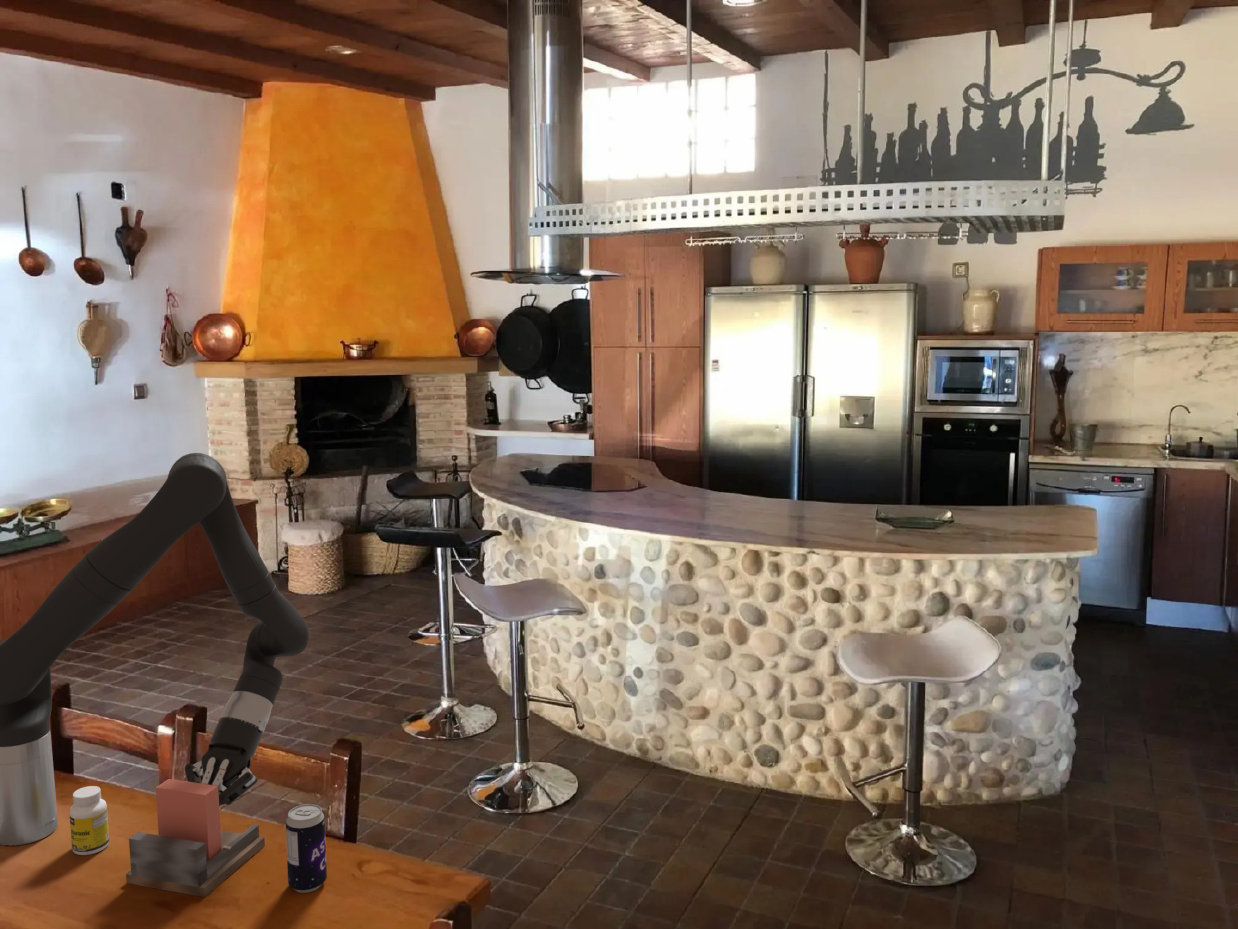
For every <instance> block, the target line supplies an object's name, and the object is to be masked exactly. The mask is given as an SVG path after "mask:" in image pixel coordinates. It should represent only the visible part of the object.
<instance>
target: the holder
mask: <svg viewBox="0 0 1238 929" xmlns="http://www.w3.org/2000/svg"><path fill="white" fill-rule="evenodd" d="M259 828H260V825H259V824H252V825H251V826H250V827H248V828H247V829H246V830H244V831H243V832H242V833H239V832H234V831H227V830H222V829H220V830H221V848H222V850H221V851H220V852H218V853H217V854H216V855H215V856H214V857H212V858H211V859H210V860H209V861H207V862H206V845H205V843H202V842H196V841H190V840H184V839H178V838H172V837H166V836H160V835H159V834H153V833H146V832H140V831H137V832H136V833H134V834H133V835H132V836H130V837H129V838H128V844H129V848H128V849H129V861H130V870H129V871H128V872H127V873H125V878H126V880H125V882H126V884H129V885H136V886H141V887H147V888H150V889H151V888H153V889H156V890H157V889H158V890H162V891H168V892H169V891H170V892H174V893H180V894H184V895H191V896H196V897H201V898H206V897H207V896H208V895H210V894H211V893H212V892H213V891H214V890H216V889H217V888H218V887H219V886H220V885H222V883H223V882H224V881H226V880H227V879H228V878H229V877H230V876H232V875H233V874H234V873H235V872H236V871H237V870H239V869H240V868H241V867H242V866H243V865H244V864H246V863H247V862H248V861H249V860H250V859H252V857H254V856H255V855H256V854H257V853H258V852H259V851H260V850H262V849H263V848H264V847H265V846H266V844H265V842H266V840H265V837H264V836H260V829H259Z"/></svg>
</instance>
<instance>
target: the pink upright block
mask: <svg viewBox="0 0 1238 929" xmlns="http://www.w3.org/2000/svg"><path fill="white" fill-rule="evenodd" d="M155 799H156V800H155V801H156V813H157V814H156V815H157V829H158V835H160V836H166V837H172V838H178V839H184V840H190V841H196V842H202V843H205V845H206V862H207V861H209V860H210V859H211V858H212V857H214V856H215V855H216V854H217V853H218V852H220V851H221V850H222V848H221V830H222V829H221V817H220V815H221V812H220V806H219V793H218V786H214V785H208V784H201V783H194V782H187V780H182V779H181V780H180V779H173V778H168V779H166V780H165V781H163V782H161V783H160V784H159V785H157V786H156V787H155Z"/></svg>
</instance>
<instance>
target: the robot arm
mask: <svg viewBox="0 0 1238 929" xmlns="http://www.w3.org/2000/svg"><path fill="white" fill-rule="evenodd" d="M197 524H199V525H200V527H201V528H202V531H203V532H204V534H205V536H206V538H207V541H208V542H209V545H210V547H211V549H212V552H213V555H214V557H215V560H216V562H217V564H218V567H219V570H220V573H221V575H222V577H223V580H224V581H225V584H226V586H227V587H228V590H229V591H230V593H231V595H232V597H233V599H234V600H235V602H236V604H237V605H238V608H239V609H240V611H241V612H242V613H243V614H244V615H246V616H248V617H252V618H254V619H257V620H259V621H258V622H257V623H255V625H254V626H253V627H252V629H251V630H250V632H249V633H248V636H247V640H246V646H245V651H244V658H243V663H242V671H241V674H240V676H239V677H238V680H237V682H236V685H235V686H234V689H233V692H232V694H231V695H230V698H229V699H228V701H227V702H226V704H225V706H224V708H223V710H222V712H221V715H220V717H219V719H218V721H217V724H216V726H215V729H214V731H213V732H212V735H211V738H210V740H209V745H208V749H207V750H206V752H205V753H204V754H202V757H201V759H200V760H199V761H197V762H196V763H193V764H192V763H186V765H185V766H184V771H185V776H186V781H187V782H194V783H201V784H208V785H214V786H218V793H219V807H221V806H223V805H227V806H229V805H231V804H232V803H234V802H235V801H236V800H238V798H240V797H241V796H242V795H243V794H245V792H247V791H248V790H249V789H250V788H252V787H253V786H255V784H257V782H258V778H257V777H256V776H255V775H254V774H253V772H252V770H251V769H250V768H251V766H252V765H251V764H252V762H251V761H252V758H253V757H254V756H255V753H256V752H257V749H258V746H259V745H260V742H261V739H262V737H263V734H264V732H265V729H266V727H267V724H268V723H269V719H270V717H271V713H272V710H273V705H274V704H275V701H276V699H277V697H278V694H279V691H280V689H281V686H282V683H283V678H284V677H283V673H282V672H281V671H280V669H278V668H276V667H275V666H274V665H275V661H276V660H277V658H279V657H280V658H281V657H282V658H284V657H293V656H297V655H299V654H301V653H303V652H304V651H305V650H306V648H307V646H308V644H309V641H310V632H309V628H308V625H307V622H306V620H305V619H304V618H303V616H302V615H301V614H300V612H299V611H298V610H297V609H296V608H295V606H293V605H292V603H291V602H290V601H289V600H288V599H287V597H285V595H283V594H282V593H281V592H280V591H279V589H278V587H277V585H276V583H275V581H274V579H273V577H272V575H271V573H270V571H269V570H268V568H267V566H266V564H265V562H264V561H263V559H262V557H261V555H260V553H259V552H258V550H257V548H256V546H255V544H254V542H253V541H252V538H250V536H249V534H248V531H247V530H246V528H245V526H244V524H243V521H242V520H241V517H240V515H239V513H238V510H237V508H236V505H235V503H234V501H233V497H232V494H231V491H230V489H229V485H228V482H227V475H226V471H225V469H224V468H223V466H222V464H221V463H220V462H219V461H218V460H217V459H216V458H215V457H213V456H211V455H209V454H206V453H201V452H192V453H191V452H190V453H188V454H185V455H182V456H180V457H179V458H178V459H177V460H176V461H175V462H174V463H173V465H172V466H171V468H170V470H169V471H168V474H167V478H166V480H165V481H164V483H163V485H162V486H161V487H160V489H159V490H157V492H156V493H155V495H154V496H152V498H151V499H150V500H149V502H148V503H147V504H146V505H145V506H144V508H143V509H141V511H140V512H139V513H137V514H136V515H135V517H133V518H132V519H130V520H129V521H128V522H127V523H125V524H123V525H122V526H121V527H119V528H118V529H115V530H114V531H113V532H111V533H110V534H109V535H108V536H106V537H105V538H103V539H102V540H101V541H99V542H98V543H97V544H96V545H94V546H93V547H92V548H91V549H90V550H89V551H88V552H87V553H86V554H85V555H84V556H83V557H82V558H81V559H80V560H79V561H78V562H77V563H76V564H75V565H74V566H73V567H71V569H70V570H69V571H68V572H67V573H66V574H65V576H64V577H63V578H61V580H60V582H59V583H57V585H56V586H55V587H54V588H53V589H52V591H51V592H50V593H49V595H48V596H46V598H45V599H44V601H43V602H42V603H41V605H40V606H39V607H38V608H37V609H36V611H35V612H34V614H32V616H31V617H30V618H29V619H28V620H27V621H26V622H25V623H24V624H23V625H22V626H21V627H20V628H19V629H18V630H16V631H15V632H14V633H13V634H12V635H11V636H9V637H8V638H4V639H3V640H1V641H0V844H1V845H0V846H5V845H9V846H11V845H12V846H13V845H14V846H21V845H27V844H31V843H34V842H38V841H39V840H42V839H45V837H48V836H50V835H51V834H53V833H54V831H56V829H57V828H58V826H59V825H58V823H59V822H58V821H59V820H58V809H57V798H56V797H57V795H56V786H55V784H56V783H55V772H54V760H53V748H52V735H51V719H50V718H51V713H52V708H53V696H52V674H51V672H52V671H51V668H52V665H53V664H54V663H55V662H56V661H57V659H59V657H60V656H62V654H63V653H65V652H66V650H67V649H68V648H69V647H70V646H72V644H74V643H75V642H76V641H77V640H78V639H80V638H81V637H82V636H83V635H85V634H87V632H88V631H90V629H92V628H93V627H94V626H96V625H97V624H98V623H99V622H100V621H102V620H103V619H104V618H105V617H106V616H107V615H108V614H110V612H112V611H113V610H114V609H115V608H116V607H117V606H119V605H120V603H121V602H122V601H123V600H124V599H125V598H126V597H127V596H128V595H129V594H130V593H131V592H132V591H134V589H135V588H137V586H138V585H139V584H140V583H141V581H143V579H144V578H145V577H147V575H148V574H149V573H150V572H151V571H152V570H153V568H154V567H155V566H156V565H157V564H158V563H159V561H160V560H161V559H162V558H163V556H164V555H165V554H166V552H168V550H169V549H170V548H171V547H173V545H174V544H176V542H177V541H179V539H180V538H182V537H183V536H184V535H186V533H188V532H189V531H190V530H191V529H193V528H194V527H195V526H196V525H197ZM202 776H203V778H201V777H202ZM12 846H11V847H12Z"/></svg>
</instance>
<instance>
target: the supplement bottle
mask: <svg viewBox="0 0 1238 929" xmlns="http://www.w3.org/2000/svg"><path fill="white" fill-rule="evenodd" d="M101 792H102V790H101V788H100V786H96V785H89V786H84V787H81V788H78V789H77V790H74V792H73V794H72V802H73V805H71V807H70V809H69V814H68V815H69V825H70V838H71V849H72V850H71V851H72V852H73V853H74V854H76V855H77V856H79V855H80V856H89V855H93V854H96V853H99V852H101V851H102V850H105V849H106V848H107V847H108V846H109V843H110V833H109V832H110V830H109V816H108V807H107V802H106V800H104V799H103V798H102V793H101Z"/></svg>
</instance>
